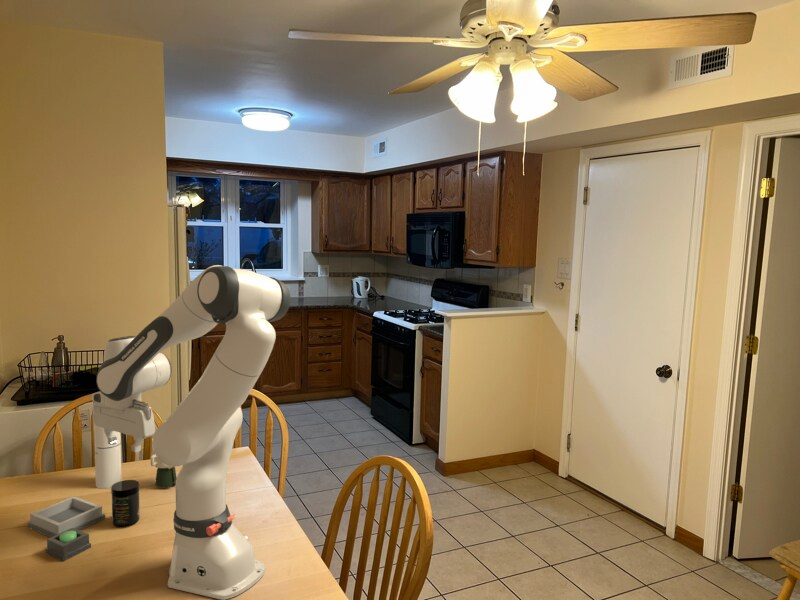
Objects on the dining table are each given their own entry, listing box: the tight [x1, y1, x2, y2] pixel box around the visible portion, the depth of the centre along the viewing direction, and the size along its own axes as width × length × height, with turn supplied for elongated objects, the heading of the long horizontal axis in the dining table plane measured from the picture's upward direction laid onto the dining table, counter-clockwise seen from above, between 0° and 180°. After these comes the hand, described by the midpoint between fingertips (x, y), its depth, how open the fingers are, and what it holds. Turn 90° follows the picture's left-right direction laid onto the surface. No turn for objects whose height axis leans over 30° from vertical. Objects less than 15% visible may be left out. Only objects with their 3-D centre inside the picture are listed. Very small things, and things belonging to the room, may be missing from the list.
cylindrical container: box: [93, 423, 123, 489], centre depth 175 cm, size 7×7×25 cm
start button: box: [59, 531, 77, 543], centre depth 139 cm, size 4×4×2 cm
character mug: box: [150, 450, 177, 489], centre depth 176 cm, size 11×7×13 cm, turn 153°
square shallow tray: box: [26, 495, 106, 538], centre depth 152 cm, size 13×13×4 cm
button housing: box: [44, 528, 92, 562], centre depth 139 cm, size 7×7×4 cm
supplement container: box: [110, 479, 141, 528], centre depth 153 cm, size 7×7×10 cm
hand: (124, 447), depth 151 cm, fingers open, 8 cm apart
